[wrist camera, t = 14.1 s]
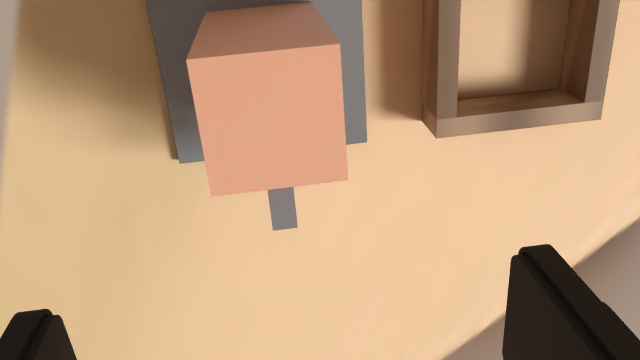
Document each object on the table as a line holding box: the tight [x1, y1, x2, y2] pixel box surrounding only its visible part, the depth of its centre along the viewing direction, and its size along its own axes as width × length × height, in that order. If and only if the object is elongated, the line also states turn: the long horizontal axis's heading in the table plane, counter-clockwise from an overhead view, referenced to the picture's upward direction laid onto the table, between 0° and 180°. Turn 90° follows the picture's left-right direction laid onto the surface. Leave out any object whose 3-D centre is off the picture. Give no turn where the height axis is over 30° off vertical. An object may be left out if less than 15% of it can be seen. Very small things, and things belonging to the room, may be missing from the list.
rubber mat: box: [146, 0, 367, 164], centre depth 33 cm, size 12×12×1 cm
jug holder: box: [422, 0, 620, 138], centre depth 33 cm, size 10×10×3 cm
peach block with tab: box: [186, 2, 348, 231], centre depth 28 cm, size 6×9×11 cm, turn 4°
